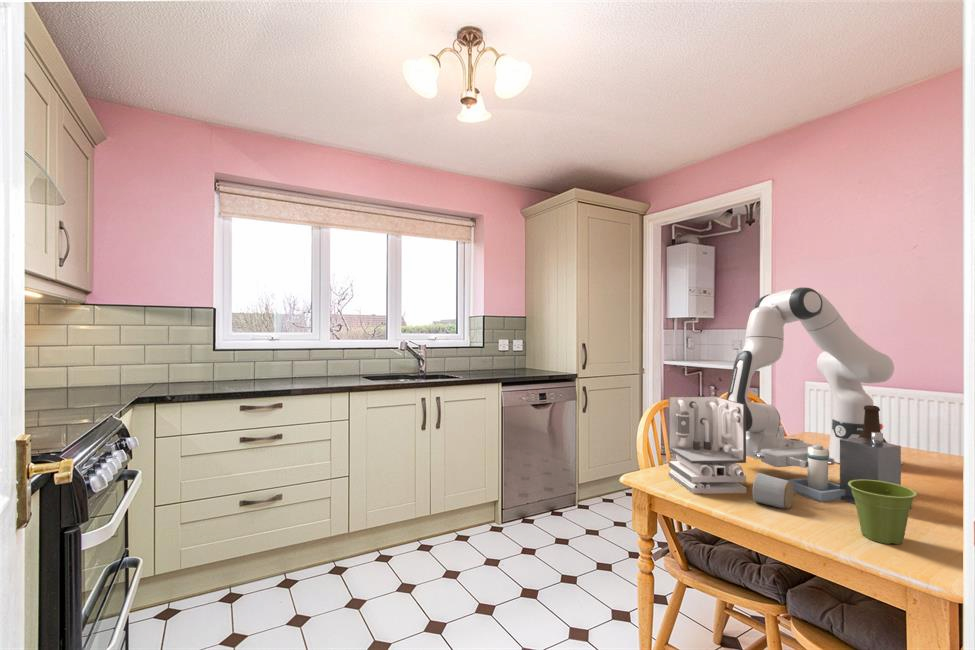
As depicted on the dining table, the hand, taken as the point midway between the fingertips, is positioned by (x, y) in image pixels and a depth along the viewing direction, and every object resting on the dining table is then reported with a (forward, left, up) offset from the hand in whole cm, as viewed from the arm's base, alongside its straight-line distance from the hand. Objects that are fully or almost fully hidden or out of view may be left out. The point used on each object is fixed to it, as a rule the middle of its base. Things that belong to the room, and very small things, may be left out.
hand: (819, 463), depth 135 cm
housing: (-7, +8, -9) cm, 14 cm away
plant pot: (+13, +26, -9) cm, 30 cm away
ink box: (-17, -34, -9) cm, 39 cm away
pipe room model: (+25, -16, -9) cm, 31 cm away
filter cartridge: (0, 0, -8) cm, 8 cm away
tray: (0, 0, -9) cm, 9 cm away
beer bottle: (-19, 0, -9) cm, 21 cm away
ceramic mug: (+19, +2, -9) cm, 21 cm away
